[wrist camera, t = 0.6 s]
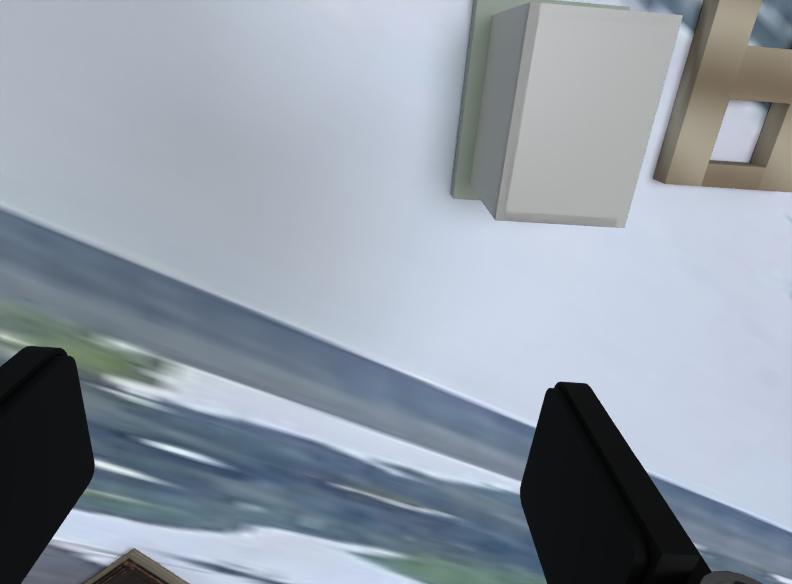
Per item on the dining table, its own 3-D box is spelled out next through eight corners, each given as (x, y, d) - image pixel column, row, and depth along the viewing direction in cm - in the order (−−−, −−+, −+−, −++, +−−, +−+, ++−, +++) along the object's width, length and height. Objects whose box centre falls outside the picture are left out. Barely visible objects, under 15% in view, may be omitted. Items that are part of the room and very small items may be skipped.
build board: (722, -63, 29) (740, -69, 28) (867, -49, 30) (892, -54, 28) (653, 178, 35) (664, 183, 34) (775, 186, 36) (792, 192, 34)
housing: (492, 14, 30) (530, 1, 22) (608, 24, 30) (682, 15, 23) (469, 184, 34) (495, 220, 27) (572, 191, 34) (624, 228, 27)
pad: (474, -5, 30) (497, -18, 25) (620, 8, 31) (675, -2, 25) (450, 194, 35) (464, 220, 30) (576, 202, 36) (614, 229, 30)
